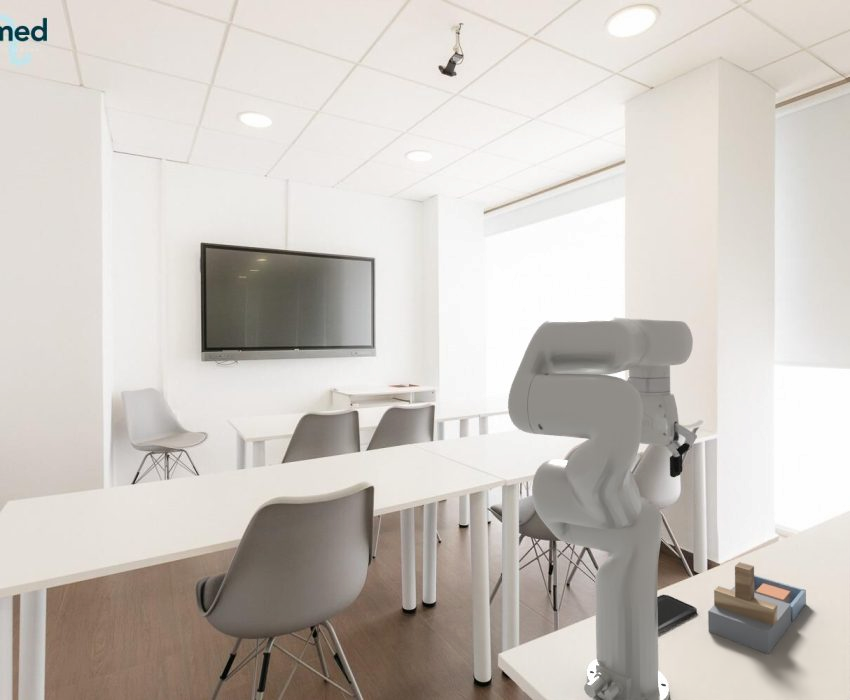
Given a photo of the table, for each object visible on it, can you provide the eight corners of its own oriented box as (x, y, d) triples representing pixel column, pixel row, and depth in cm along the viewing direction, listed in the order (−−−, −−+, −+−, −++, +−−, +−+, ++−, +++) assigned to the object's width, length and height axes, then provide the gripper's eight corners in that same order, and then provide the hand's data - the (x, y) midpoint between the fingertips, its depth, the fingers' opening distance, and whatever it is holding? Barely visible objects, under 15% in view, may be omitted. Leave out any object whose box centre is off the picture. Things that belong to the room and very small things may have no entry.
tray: (792, 622, 102) (792, 607, 102) (736, 603, 110) (736, 589, 110) (805, 604, 109) (805, 590, 109) (752, 587, 116) (751, 574, 116)
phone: (699, 609, 107) (654, 632, 99) (699, 614, 107) (654, 638, 99) (663, 593, 113) (619, 614, 105) (664, 598, 113) (619, 619, 105)
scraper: (773, 625, 94) (773, 576, 94) (714, 605, 102) (713, 560, 101) (777, 620, 96) (777, 572, 96) (718, 600, 103) (718, 556, 103)
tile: (790, 591, 109) (790, 600, 109) (763, 583, 113) (763, 592, 113) (783, 599, 106) (783, 609, 106) (755, 591, 110) (755, 600, 110)
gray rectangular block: (768, 654, 92) (768, 632, 92) (708, 631, 100) (708, 610, 100) (790, 624, 101) (790, 604, 101) (734, 605, 109) (734, 586, 109)
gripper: (599, 385, 107) (601, 467, 107) (686, 390, 94) (687, 483, 94) (618, 382, 112) (619, 460, 112) (703, 386, 99) (704, 475, 99)
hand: (650, 471), depth 103 cm, fingers open, 9 cm apart
